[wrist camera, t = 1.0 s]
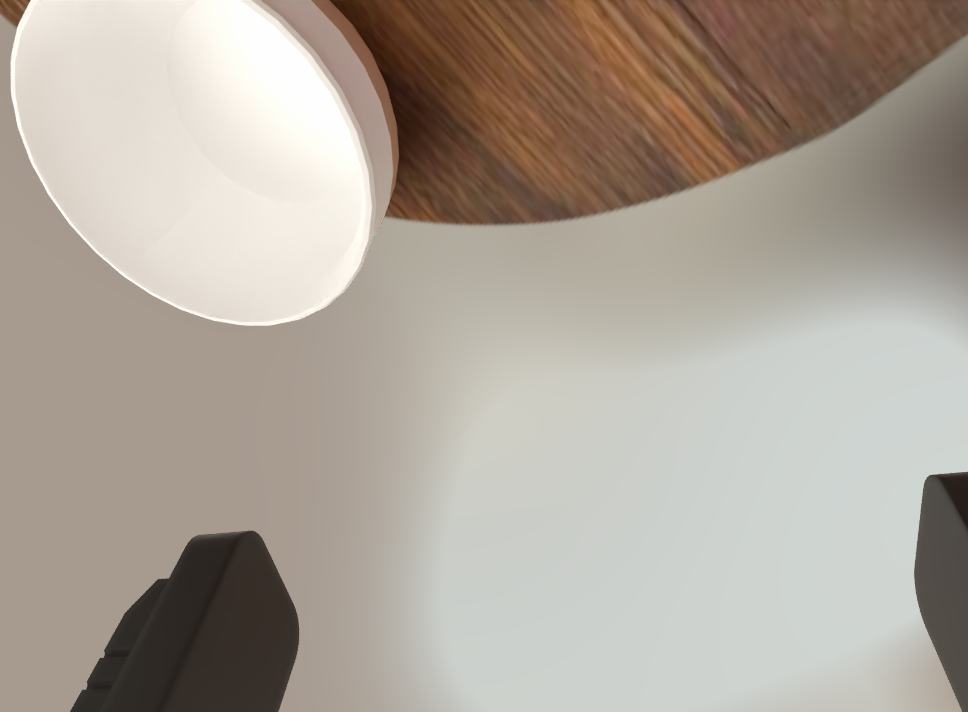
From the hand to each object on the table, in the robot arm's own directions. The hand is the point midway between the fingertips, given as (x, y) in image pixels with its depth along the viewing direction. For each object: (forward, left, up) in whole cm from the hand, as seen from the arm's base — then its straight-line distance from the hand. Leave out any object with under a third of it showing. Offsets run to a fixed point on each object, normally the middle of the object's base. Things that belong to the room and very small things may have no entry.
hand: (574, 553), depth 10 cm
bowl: (-5, -20, -28) cm, 35 cm away
